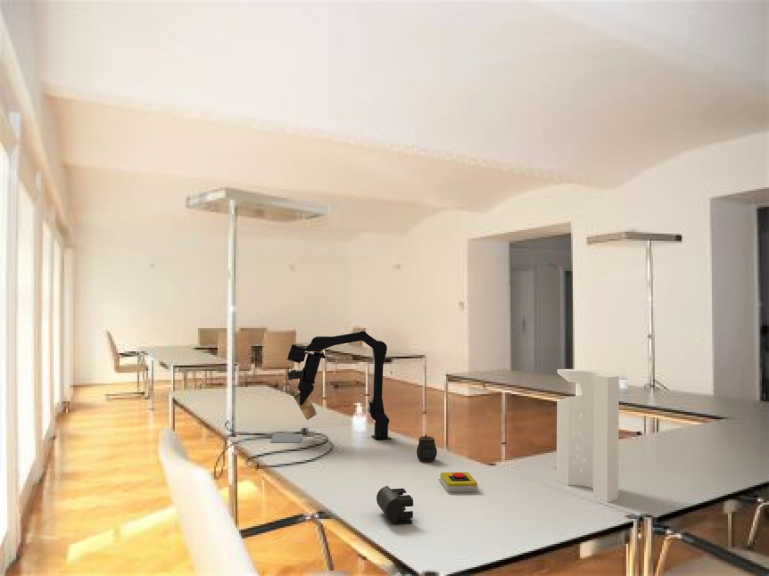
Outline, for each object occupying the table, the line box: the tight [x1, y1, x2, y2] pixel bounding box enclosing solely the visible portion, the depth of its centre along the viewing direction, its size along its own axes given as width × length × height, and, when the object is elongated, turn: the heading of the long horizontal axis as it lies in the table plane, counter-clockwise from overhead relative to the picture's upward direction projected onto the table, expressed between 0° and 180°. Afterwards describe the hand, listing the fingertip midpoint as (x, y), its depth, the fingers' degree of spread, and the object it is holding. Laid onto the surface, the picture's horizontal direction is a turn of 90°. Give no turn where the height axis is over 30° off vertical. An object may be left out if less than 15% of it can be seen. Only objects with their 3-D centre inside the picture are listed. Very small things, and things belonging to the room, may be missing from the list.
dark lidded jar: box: [416, 434, 438, 463], centre depth 197 cm, size 7×8×10 cm
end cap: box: [375, 485, 414, 526], centre depth 142 cm, size 10×7×7 cm
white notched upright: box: [555, 368, 620, 503], centre depth 169 cm, size 35×11×21 cm
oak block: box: [293, 391, 318, 421], centre depth 226 cm, size 4×4×11 cm
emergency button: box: [438, 471, 480, 496], centre depth 169 cm, size 9×4×15 cm
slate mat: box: [269, 433, 303, 444], centre depth 225 cm, size 12×14×1 cm
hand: (300, 404), depth 226 cm, fingers closed on oak block, 4 cm apart
